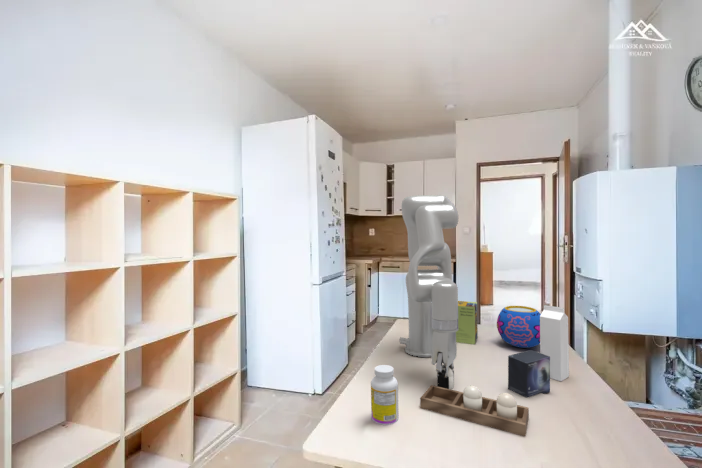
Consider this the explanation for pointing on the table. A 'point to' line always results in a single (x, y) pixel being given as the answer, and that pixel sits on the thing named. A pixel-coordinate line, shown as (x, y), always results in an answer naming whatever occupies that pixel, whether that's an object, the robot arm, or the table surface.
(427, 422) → the table surface
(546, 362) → the small box
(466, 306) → the protein box
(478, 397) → the egg middle
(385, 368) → the supplement bottle
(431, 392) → the crate
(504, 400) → the egg far
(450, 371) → the white rounded cylinder
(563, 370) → the milk
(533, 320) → the ceramic pot
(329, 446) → the table surface
